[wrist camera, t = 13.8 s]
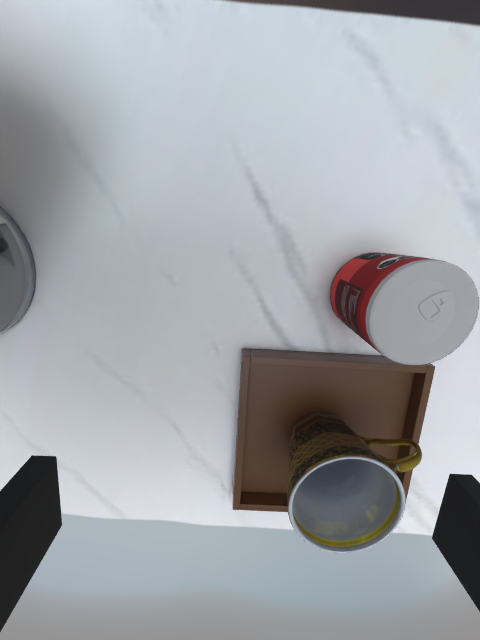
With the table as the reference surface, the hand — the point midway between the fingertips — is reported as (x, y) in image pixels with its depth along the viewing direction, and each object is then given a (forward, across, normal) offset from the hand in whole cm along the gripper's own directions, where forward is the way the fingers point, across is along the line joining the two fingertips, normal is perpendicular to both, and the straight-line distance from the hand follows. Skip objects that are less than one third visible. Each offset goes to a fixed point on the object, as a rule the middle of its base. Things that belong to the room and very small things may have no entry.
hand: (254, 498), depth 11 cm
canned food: (+24, +13, +4) cm, 28 cm away
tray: (+24, +10, -13) cm, 29 cm away
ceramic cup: (+24, +11, -12) cm, 29 cm away
